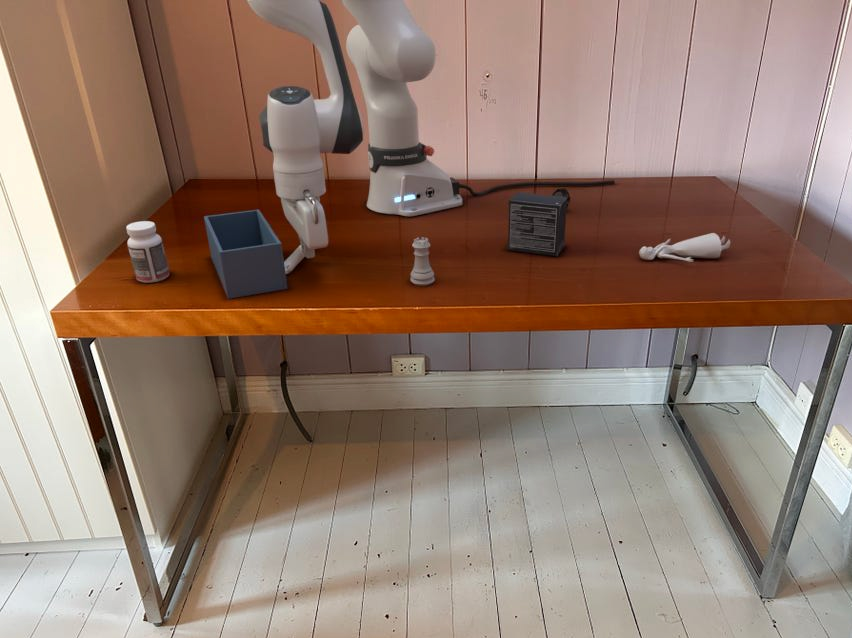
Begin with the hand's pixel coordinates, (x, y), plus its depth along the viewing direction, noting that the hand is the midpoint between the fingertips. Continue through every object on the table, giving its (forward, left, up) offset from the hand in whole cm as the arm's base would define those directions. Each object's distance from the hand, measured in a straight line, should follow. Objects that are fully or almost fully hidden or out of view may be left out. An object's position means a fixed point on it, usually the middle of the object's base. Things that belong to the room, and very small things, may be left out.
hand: (308, 255), depth 137 cm
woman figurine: (-68, +27, -2) cm, 73 cm away
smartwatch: (-61, -8, -2) cm, 61 cm away
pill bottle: (+27, -5, -2) cm, 28 cm away
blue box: (+11, 0, -2) cm, 12 cm away
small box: (-44, +11, -2) cm, 45 cm away
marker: (+1, -3, -2) cm, 3 cm away
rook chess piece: (-17, +17, -2) cm, 24 cm away
